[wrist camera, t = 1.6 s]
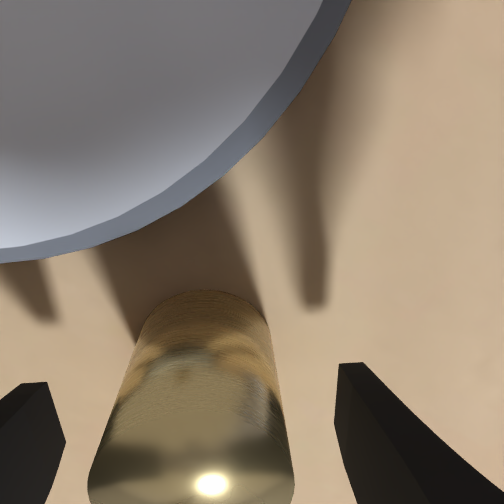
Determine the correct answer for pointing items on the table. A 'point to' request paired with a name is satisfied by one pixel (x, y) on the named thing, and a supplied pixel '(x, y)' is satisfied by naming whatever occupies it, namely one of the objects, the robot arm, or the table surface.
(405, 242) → the table surface
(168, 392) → the cylinder
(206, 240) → the table surface
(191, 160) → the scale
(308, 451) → the table surface
